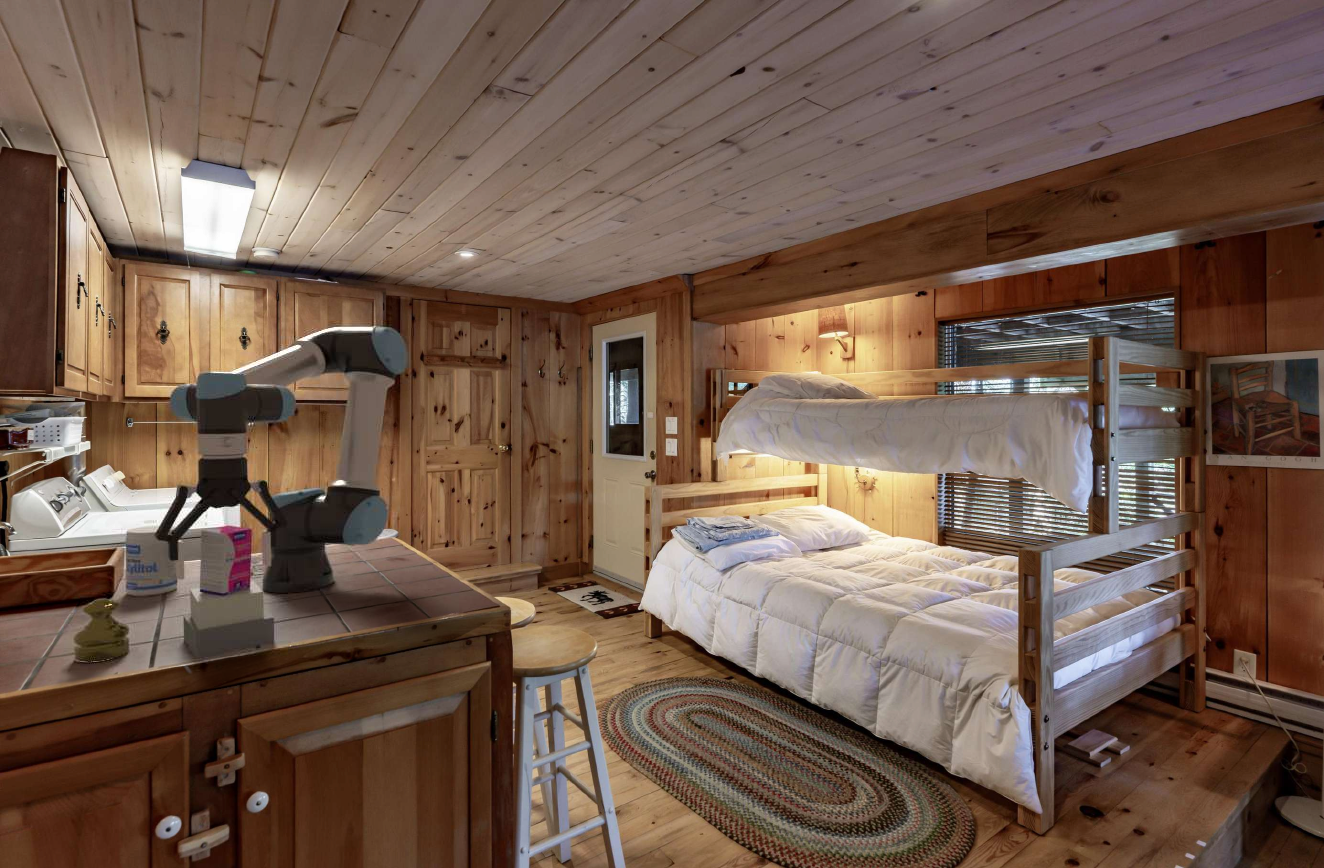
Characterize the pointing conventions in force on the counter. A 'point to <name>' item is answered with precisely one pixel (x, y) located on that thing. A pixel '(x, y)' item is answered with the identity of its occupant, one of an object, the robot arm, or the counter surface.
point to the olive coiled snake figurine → (101, 633)
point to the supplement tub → (148, 563)
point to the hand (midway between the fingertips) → (225, 571)
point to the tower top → (226, 607)
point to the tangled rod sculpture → (254, 560)
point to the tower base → (228, 636)
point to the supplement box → (225, 560)
